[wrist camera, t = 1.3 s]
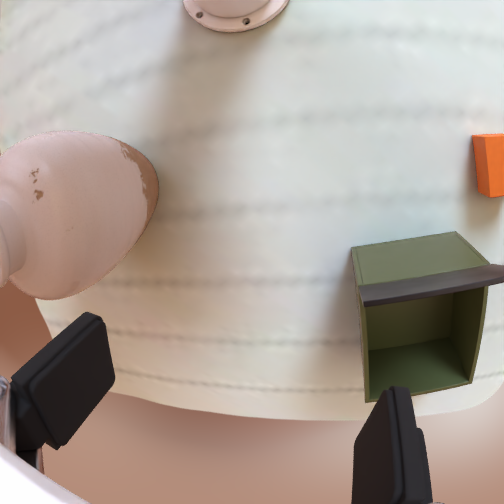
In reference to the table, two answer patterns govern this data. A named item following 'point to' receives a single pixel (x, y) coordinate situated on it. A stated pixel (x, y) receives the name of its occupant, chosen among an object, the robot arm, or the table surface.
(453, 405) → the table surface
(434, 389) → the olive green hollow box
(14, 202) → the vase
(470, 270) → the flap
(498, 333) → the table surface
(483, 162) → the block
